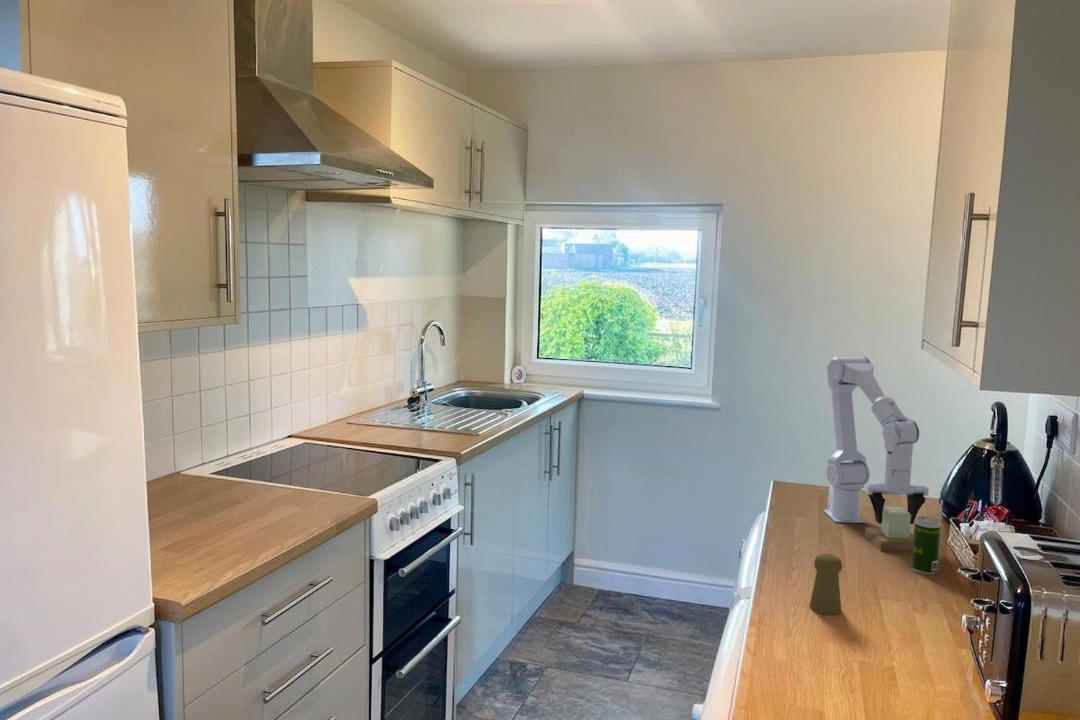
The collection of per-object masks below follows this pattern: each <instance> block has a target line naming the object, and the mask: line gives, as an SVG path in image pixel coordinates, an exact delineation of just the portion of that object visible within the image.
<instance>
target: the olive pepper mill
mask: <svg viewBox="0 0 1080 720" xmlns="http://www.w3.org/2000/svg"><path fill="white" fill-rule="evenodd" d="M813 565H814V569H815V571H816V573H815V577H814V583H813V588H812V590H811V591H812V592H811V597H810V601H809V609H810V610H811V611H813V612H815V613H817V614H820V615H825V616H837V615H839V614H841V613H842V604H841V603H842V602H841V590H840V589H841V588H840V578H839V577H840V575H839V574H840V573H841V571H842V569H843V564H842V560H841V558H840V557H839V556H837V555H835V554H830V553H820V554H817V555H816V556H815V558H814V561H813Z"/></svg>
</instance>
